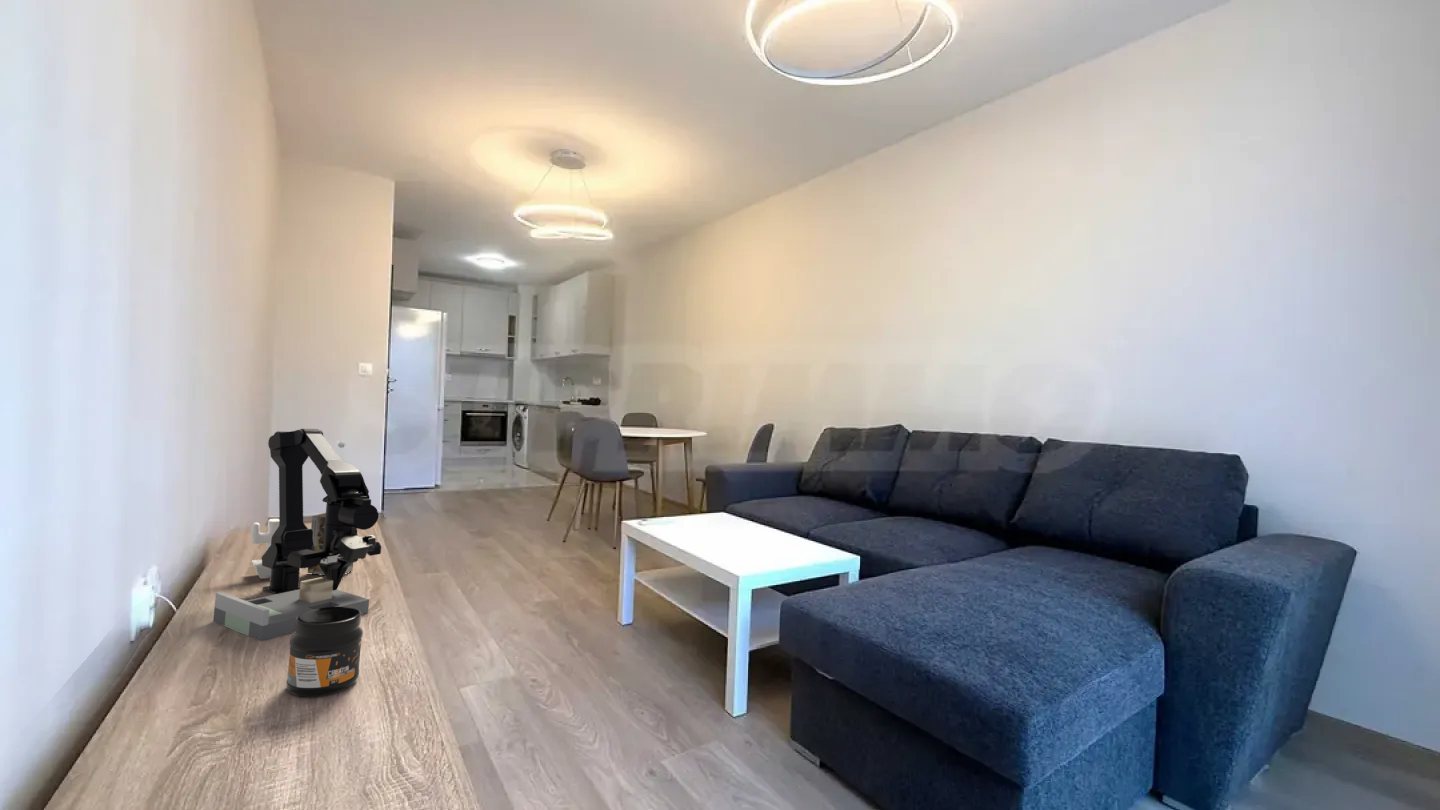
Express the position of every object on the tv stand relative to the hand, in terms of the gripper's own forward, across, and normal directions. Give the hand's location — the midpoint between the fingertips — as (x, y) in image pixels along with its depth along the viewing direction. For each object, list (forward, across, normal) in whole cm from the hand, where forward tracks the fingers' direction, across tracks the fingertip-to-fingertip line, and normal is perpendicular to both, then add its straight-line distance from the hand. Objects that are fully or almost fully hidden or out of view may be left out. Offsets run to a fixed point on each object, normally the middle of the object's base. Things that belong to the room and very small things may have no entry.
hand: (333, 589), depth 139 cm
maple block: (+1, -4, 0) cm, 4 cm away
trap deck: (+4, -8, 0) cm, 9 cm away
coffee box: (+4, +16, +27) cm, 32 cm away
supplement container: (+4, -24, -36) cm, 43 cm away
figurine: (+4, +5, +35) cm, 36 cm away
